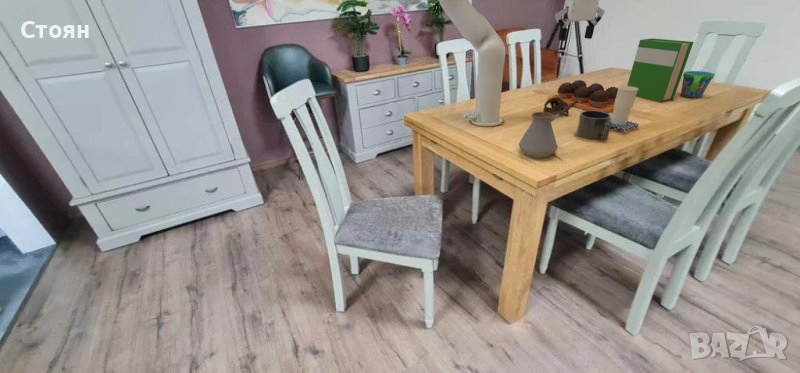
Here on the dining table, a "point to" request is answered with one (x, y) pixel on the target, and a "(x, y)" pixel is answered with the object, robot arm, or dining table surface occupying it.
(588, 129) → the mug
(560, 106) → the broken brown clay pot
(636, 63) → the hardback book
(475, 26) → the robot arm
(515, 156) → the dining table surface
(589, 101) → the chocolate cupcake tray
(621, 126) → the woven mat
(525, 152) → the coffee pot
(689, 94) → the snack cup
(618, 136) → the dining table surface
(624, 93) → the paper cup
